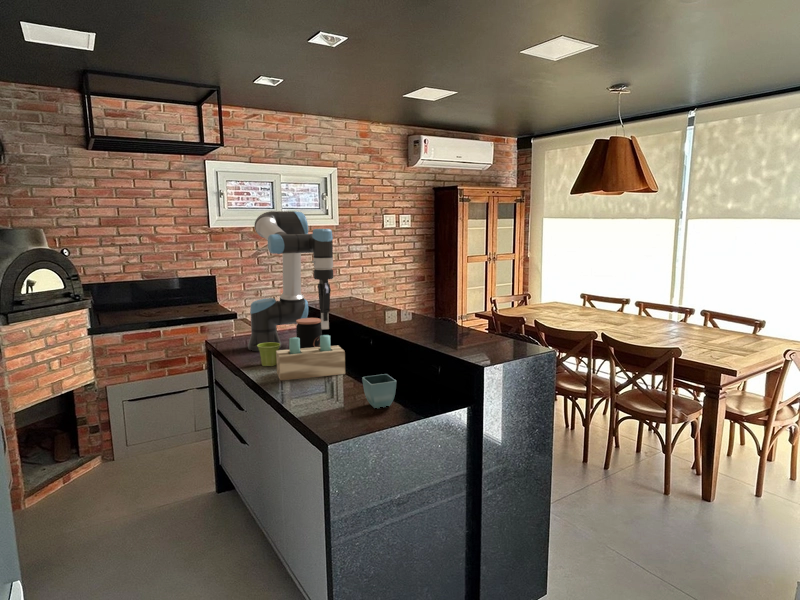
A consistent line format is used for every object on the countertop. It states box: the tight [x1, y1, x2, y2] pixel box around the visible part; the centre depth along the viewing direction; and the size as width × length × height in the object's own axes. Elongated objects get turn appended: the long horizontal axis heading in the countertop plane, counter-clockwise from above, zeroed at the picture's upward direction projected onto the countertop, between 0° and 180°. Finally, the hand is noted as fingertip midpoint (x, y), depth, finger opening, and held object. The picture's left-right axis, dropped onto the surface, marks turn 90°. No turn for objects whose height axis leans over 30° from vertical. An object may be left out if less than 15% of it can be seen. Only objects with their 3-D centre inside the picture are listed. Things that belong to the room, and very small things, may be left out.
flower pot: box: [361, 373, 397, 409], centre depth 164 cm, size 9×9×9 cm
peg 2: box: [320, 334, 331, 352], centre depth 202 cm, size 4×4×8 cm
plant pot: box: [257, 342, 280, 367], centre depth 214 cm, size 9×9×9 cm
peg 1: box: [288, 336, 300, 354], centre depth 198 cm, size 4×4×8 cm
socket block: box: [276, 345, 346, 381], centre depth 201 cm, size 11×25×9 cm, turn 110°
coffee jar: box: [295, 317, 323, 349], centre depth 219 cm, size 11×11×18 cm
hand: (325, 328), depth 201 cm, fingers closed
